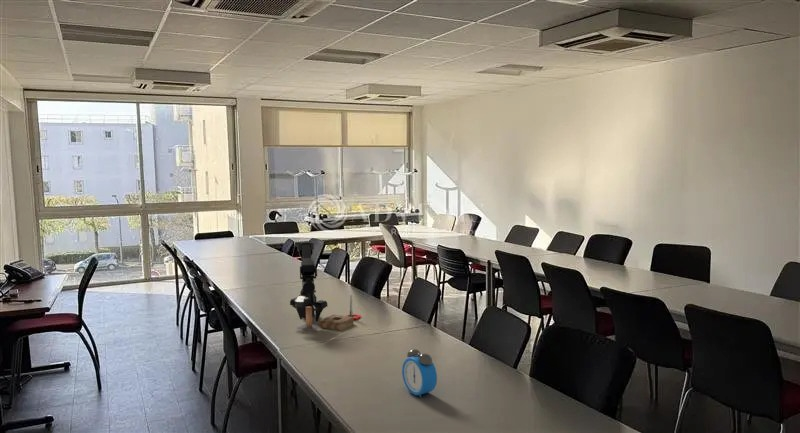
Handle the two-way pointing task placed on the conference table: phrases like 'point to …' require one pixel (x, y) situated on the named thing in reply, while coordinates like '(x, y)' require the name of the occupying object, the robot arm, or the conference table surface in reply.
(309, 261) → the robot arm
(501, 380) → the conference table surface
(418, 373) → the alarm clock
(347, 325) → the socket block
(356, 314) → the tow hook
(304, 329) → the mat
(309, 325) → the peg
